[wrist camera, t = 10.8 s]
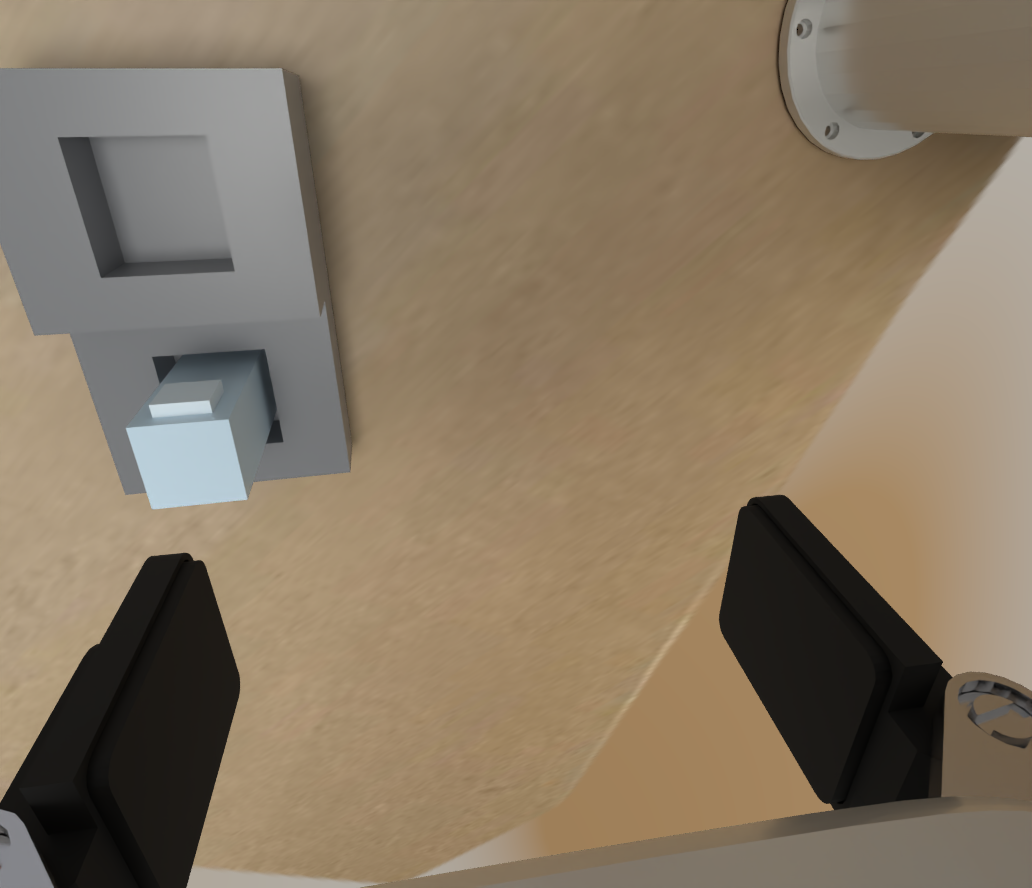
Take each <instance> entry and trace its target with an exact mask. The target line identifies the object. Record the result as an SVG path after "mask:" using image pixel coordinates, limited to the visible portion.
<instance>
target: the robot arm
mask: <svg viewBox="0 0 1032 888" xmlns="http://www.w3.org/2000/svg"><path fill="white" fill-rule="evenodd" d="M797 27H798V33H797ZM779 71H780V80H781V88H782V91H783V95H784V98H785V101H786V105H787V108H788V110H789V112H790V114H791V116H792V118H793V120H794V121H795V123H796V125H797V127H798V128H799V129H800V130H801V132H802V133H803V134H804V135H805V136H806V137H807V138H808V140H809V141H810V142H812V143H813V144H815V145H816V146H818V147H819V148H821V149H822V150H823V151H825V152H828V153H831V154H833V155H836V156H839V157H843V158H851V159H858V160H867V159H880V158H884V157H889V156H893V155H897V154H899V153H901V152H903V151H905V150H907V149H910V148H912V147H914V146H916V145H917V144H919V143H920V142H922V141H923V140H925V139H926V138H928V137H929V136H930V135H932V134H933V133H953V134H976V135H998V136H1020V137H1032V0H788V3H787V6H786V9H785V13H784V18H783V23H782V28H781V34H780V44H779ZM825 130H826V131H825ZM719 623H720V628H721V632H722V634H723V636H724V638H725V640H726V641H727V643H728V645H729V647H730V648H731V650H732V652H733V653H734V655H735V657H736V659H737V660H738V662H739V664H740V665H741V667H742V669H743V670H744V672H745V674H746V676H747V677H748V679H749V681H750V682H751V684H752V686H753V688H754V689H755V691H756V693H757V694H758V696H759V698H760V700H761V701H762V703H763V705H764V706H765V708H766V710H767V711H768V713H769V715H770V717H771V718H772V720H773V721H774V723H775V725H776V727H777V728H778V730H779V732H780V734H781V735H782V737H783V739H784V740H785V742H786V744H787V745H788V747H789V749H790V751H791V752H792V754H793V756H794V757H795V759H796V761H797V763H798V764H799V766H800V768H801V769H802V771H803V773H804V775H805V776H806V778H807V780H808V781H809V783H810V785H811V786H812V788H813V790H814V792H815V793H816V795H817V796H818V798H819V799H820V800H821V801H822V802H824V803H826V804H829V803H830V804H831V805H832V807H833V809H834V810H832V811H825V812H819V813H811V814H805V815H798V816H792V817H786V818H780V819H773V820H767V821H761V822H755V823H748V824H742V825H736V826H729V827H723V828H717V829H710V830H705V831H698V832H692V833H685V834H679V835H673V836H667V837H660V838H654V839H648V840H643V841H636V842H630V843H624V844H618V845H612V846H606V847H600V848H593V849H587V850H581V851H575V852H569V853H563V854H557V855H551V856H545V857H539V858H533V859H527V860H521V861H515V862H510V863H503V864H497V865H491V866H485V867H480V868H473V869H467V870H461V871H455V872H449V873H443V874H437V875H431V876H426V877H420V878H414V879H408V880H402V881H396V882H391V883H385V884H379V885H373V886H367V887H362V888H1032V691H1030V690H1029V689H1027V688H1026V687H1024V686H1022V685H1020V684H1018V683H1015V682H1013V681H1011V680H1009V679H1006V678H1004V677H1000V676H997V675H992V674H988V673H983V672H966V673H962V674H958V675H956V676H954V677H952V676H951V675H950V674H949V673H948V672H947V671H946V670H945V669H944V668H943V667H942V666H941V665H942V663H943V661H942V660H941V659H940V658H939V657H938V656H937V655H936V654H935V653H934V652H933V651H932V650H931V648H930V647H929V646H928V645H927V644H926V643H925V642H924V641H923V640H922V639H921V638H920V637H919V636H918V635H917V634H916V633H915V632H914V630H912V628H911V627H910V626H909V625H908V624H907V623H906V622H905V621H904V620H903V619H902V618H901V617H900V616H899V615H898V614H897V612H895V610H894V609H893V608H891V606H890V605H889V604H888V603H887V602H886V601H885V600H884V599H883V598H882V597H881V596H880V595H879V593H877V591H875V589H874V588H873V587H872V586H871V585H870V584H869V583H868V582H867V581H866V580H865V579H864V578H863V577H862V576H861V574H859V572H858V571H857V570H856V569H855V568H854V567H853V566H852V565H851V564H850V563H849V562H848V561H847V560H846V559H845V558H844V556H843V555H842V554H841V553H840V552H839V551H838V550H837V549H836V548H835V547H834V546H833V545H832V544H831V543H830V542H829V541H828V540H827V538H825V536H824V535H823V534H822V533H821V532H820V531H819V530H818V529H817V528H816V527H815V526H814V525H813V524H812V523H811V522H810V521H809V520H808V519H807V517H806V516H805V515H804V514H803V513H802V512H801V511H800V510H799V509H798V508H797V507H796V506H795V505H794V504H793V503H792V501H791V500H790V499H789V498H787V497H786V496H784V495H774V496H764V497H754V498H751V499H750V500H749V502H748V504H747V506H744V507H742V508H741V509H740V511H739V514H738V520H737V525H736V530H735V535H734V541H733V546H732V551H731V556H730V562H729V567H728V572H727V578H726V583H725V588H724V594H723V599H722V604H721V609H720V614H719ZM239 693H240V677H239V672H238V669H237V666H236V663H235V659H234V656H233V653H232V650H231V646H230V643H229V640H228V637H227V634H226V630H225V627H224V624H223V621H222V618H221V614H220V611H219V608H218V605H217V601H216V598H215V595H214V592H213V589H212V585H211V582H210V579H209V576H208V572H207V569H206V566H205V564H204V563H203V561H201V560H198V561H194V560H193V558H192V556H191V555H190V554H188V553H179V554H169V555H159V556H151V557H149V558H148V559H147V560H146V561H145V563H144V565H143V566H142V568H141V570H140V572H139V574H138V575H137V577H136V579H135V581H134V583H133V584H132V586H131V588H130V590H129V592H128V593H127V595H126V597H125V599H124V601H123V602H122V604H121V606H120V608H119V610H118V611H117V613H116V615H115V617H114V619H113V620H112V622H111V624H110V626H109V628H108V629H107V631H106V633H105V635H104V637H103V638H102V640H101V642H100V644H96V645H95V646H93V647H92V648H90V649H89V650H88V652H87V653H86V654H85V656H84V657H83V659H82V661H81V662H80V664H79V666H78V668H77V669H76V671H75V673H74V675H73V676H72V678H71V680H70V682H69V683H68V685H67V687H66V689H65V690H64V692H63V694H62V696H61V697H60V699H59V701H58V703H57V704H56V706H55V708H54V710H53V711H52V713H51V715H50V717H49V718H48V720H47V722H46V724H45V725H44V727H43V729H42V731H41V732H40V734H39V736H38V738H37V739H36V741H35V743H34V745H33V746H32V748H31V750H30V752H29V753H28V755H27V757H26V759H25V760H24V762H23V764H22V766H21V767H20V769H19V771H18V773H17V774H16V776H15V778H14V780H13V781H12V783H11V785H10V787H9V789H8V790H7V792H6V794H5V796H4V797H3V799H2V801H1V803H0V888H186V887H187V883H188V880H189V876H190V872H191V869H192V865H193V861H194V858H195V854H196V850H197V847H198V843H199V840H200V836H201V832H202V829H203V825H204V821H205V818H206V814H207V811H208V807H209V803H210V800H211V796H212V792H213V789H214V785H215V782H216V778H217V774H218V771H219V767H220V763H221V760H222V756H223V753H224V749H225V745H226V742H227V738H228V734H229V731H230V727H231V723H232V720H233V716H234V713H235V709H236V705H237V702H238V698H239Z"/></svg>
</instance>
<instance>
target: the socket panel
mask: <svg viewBox="0 0 1032 888" xmlns="http://www.w3.org/2000/svg"><path fill="white" fill-rule="evenodd" d="M0 244H1V247H2V250H3V252H4V255H5V258H6V260H7V263H8V266H9V268H10V271H11V274H12V276H13V279H14V282H15V284H16V287H17V290H18V293H19V295H20V298H21V301H22V303H23V306H24V309H25V311H26V314H27V317H28V319H29V322H30V325H31V327H32V330H33V333H34V335H51V334H67V333H70V335H71V338H72V341H73V344H74V347H75V350H76V353H77V356H78V359H79V362H80V364H81V367H82V370H83V373H84V376H85V379H86V382H87V385H88V388H89V391H90V393H91V396H92V399H93V402H94V405H95V408H96V411H97V414H98V417H99V420H100V422H101V425H102V428H103V431H104V434H105V437H106V440H107V443H108V446H109V448H110V451H111V454H112V457H113V460H114V463H115V466H116V469H117V472H118V475H119V477H120V480H121V483H122V486H123V489H124V492H125V495H129V494H138V493H147V492H146V489H145V486H144V483H143V480H142V477H141V474H140V471H139V468H138V464H137V461H136V458H135V455H134V452H133V449H132V446H131V443H130V440H129V437H128V433H127V430H126V427H127V426H128V424H129V423H130V422H131V421H132V419H133V418H134V417H135V415H136V414H137V413H138V412H139V410H140V409H141V408H142V406H143V405H144V404H145V403H146V401H147V400H148V399H149V397H150V396H151V395H152V394H153V392H154V391H155V390H156V389H157V387H158V386H159V385H160V383H161V382H162V381H163V380H164V378H165V377H166V376H167V374H168V373H169V372H170V371H171V369H172V368H173V367H174V365H175V364H176V363H177V362H178V360H179V359H180V358H181V356H182V355H186V354H200V353H215V352H229V351H244V350H258V349H265V351H266V356H267V361H268V366H269V371H270V376H271V381H272V386H273V391H274V396H275V401H276V406H277V411H276V414H275V417H274V420H273V423H272V426H271V429H270V432H269V436H268V439H267V442H266V445H265V448H264V451H263V454H262V457H261V460H260V463H259V466H258V469H257V472H256V475H255V478H254V481H253V482H257V481H267V480H277V479H287V478H297V477H307V476H317V475H327V474H337V473H346V472H350V469H351V455H352V440H351V433H350V426H349V419H348V412H347V405H346V398H345V391H344V384H343V377H342V370H341V363H340V356H339V349H338V343H337V336H336V329H335V322H334V315H333V308H332V301H331V294H330V287H329V280H328V273H327V266H326V259H325V252H324V246H323V239H322V232H321V225H320V218H319V211H318V204H317V197H316V190H315V183H314V176H313V169H312V162H311V155H310V149H309V142H308V135H307V128H306V121H305V114H304V107H303V100H302V93H301V86H300V79H299V75H296V74H294V73H292V72H289V71H287V70H284V69H282V68H0Z"/></svg>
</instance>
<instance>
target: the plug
mask: <svg viewBox="0 0 1032 888" xmlns="http://www.w3.org/2000/svg"><path fill="white" fill-rule="evenodd" d="M276 411H277V406H276V401H275V396H274V391H273V386H272V381H271V376H270V371H269V366H268V361H267V356H266V351H265V349H258V350H244V351H229V352H215V353H200V354H186V355H182V356H181V358H180V359H179V360H178V362H177V363H176V364H175V365H174V367H173V368H172V369H171V371H170V372H169V373H168V374H167V376H166V377H165V378H164V380H163V381H162V382H161V383H160V385H159V386H158V387H157V389H156V390H155V391H154V392H153V394H152V395H151V396H150V397H149V399H148V400H147V401H146V403H145V404H144V405H143V406H142V408H141V409H140V410H139V412H138V413H137V414H136V415H135V417H134V418H133V419H132V421H131V422H130V423H129V424H128V426H127V427H126V430H127V433H128V437H129V440H130V443H131V446H132V449H133V452H134V455H135V458H136V461H137V464H138V468H139V471H140V474H141V477H142V480H143V483H144V486H145V489H146V492H147V495H148V498H149V502H150V505H151V508H152V509H161V508H171V507H181V506H190V505H200V504H210V503H219V502H229V501H239V500H248V497H249V494H250V491H251V488H252V484H253V481H254V478H255V475H256V472H257V469H258V466H259V463H260V460H261V457H262V454H263V451H264V448H265V445H266V442H267V439H268V436H269V432H270V429H271V426H272V423H273V420H274V417H275V414H276Z"/></svg>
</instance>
